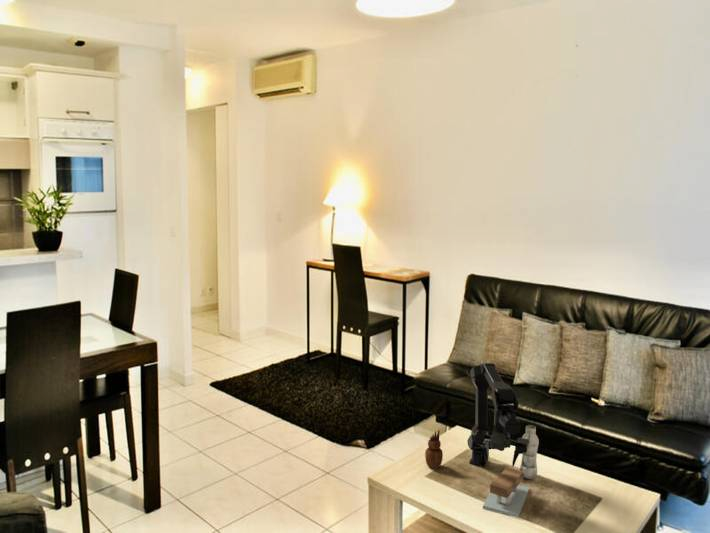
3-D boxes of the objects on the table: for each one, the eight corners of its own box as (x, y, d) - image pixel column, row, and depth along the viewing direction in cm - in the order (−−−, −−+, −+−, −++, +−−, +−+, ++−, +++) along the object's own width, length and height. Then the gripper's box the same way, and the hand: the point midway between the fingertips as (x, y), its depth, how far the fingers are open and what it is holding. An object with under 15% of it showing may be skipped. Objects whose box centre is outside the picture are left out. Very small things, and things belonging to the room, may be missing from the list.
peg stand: (496, 482, 214) (496, 469, 213) (529, 490, 209) (529, 477, 208) (482, 508, 196) (483, 494, 196) (518, 517, 191) (519, 503, 190)
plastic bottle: (518, 479, 217) (521, 429, 214) (520, 471, 223) (523, 422, 220) (536, 482, 214) (539, 431, 212) (537, 474, 220) (540, 425, 218)
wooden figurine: (441, 463, 229) (442, 427, 227) (442, 470, 223) (443, 433, 221) (424, 462, 229) (425, 427, 227) (425, 469, 224) (426, 433, 222)
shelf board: (507, 474, 210) (507, 466, 210) (523, 479, 206) (523, 471, 206) (489, 492, 197) (490, 484, 197) (506, 498, 194) (506, 489, 193)
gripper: (470, 425, 200) (468, 466, 202) (525, 436, 191) (522, 479, 194) (478, 413, 209) (476, 453, 212) (530, 423, 201) (528, 465, 204)
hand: (500, 463), depth 205 cm, fingers open, 9 cm apart
